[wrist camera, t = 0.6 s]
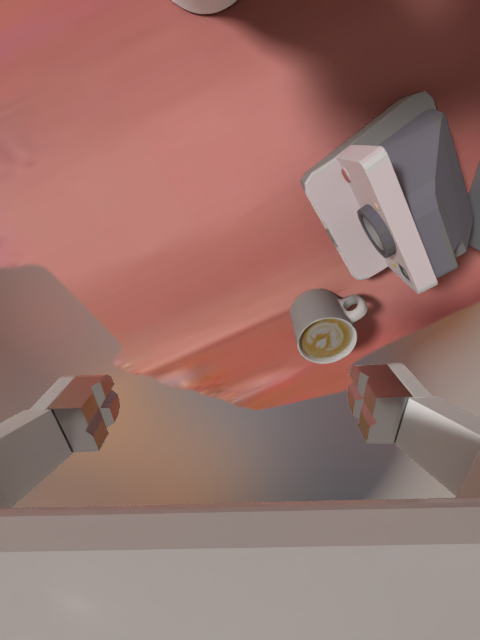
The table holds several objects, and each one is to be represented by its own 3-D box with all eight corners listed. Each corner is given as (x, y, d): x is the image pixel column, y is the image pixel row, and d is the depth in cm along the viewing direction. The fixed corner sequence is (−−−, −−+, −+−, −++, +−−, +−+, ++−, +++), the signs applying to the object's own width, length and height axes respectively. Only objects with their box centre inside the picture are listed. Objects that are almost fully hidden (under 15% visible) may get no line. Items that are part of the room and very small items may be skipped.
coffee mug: (301, 337, 58) (309, 370, 50) (282, 301, 53) (288, 331, 45) (364, 313, 54) (385, 344, 46) (350, 272, 49) (369, 298, 41)
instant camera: (290, 160, 40) (307, 169, 28) (443, 73, 35) (551, 35, 22) (333, 277, 50) (360, 322, 38) (457, 225, 45) (537, 258, 32)
